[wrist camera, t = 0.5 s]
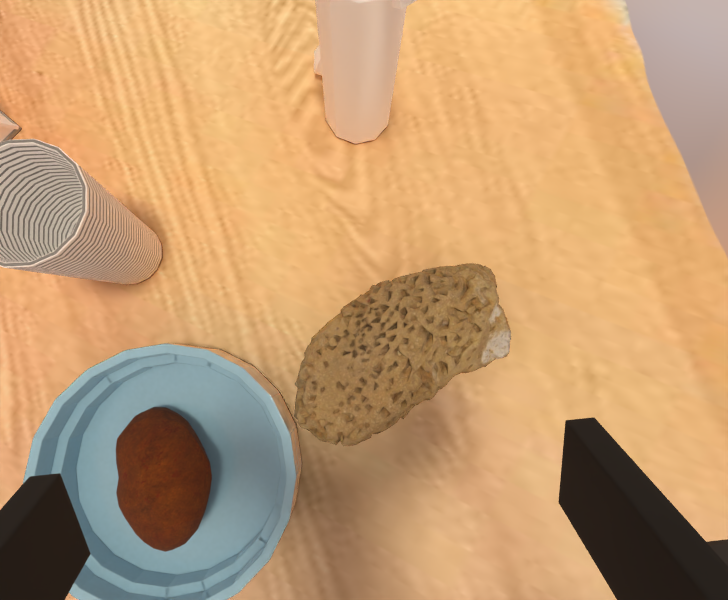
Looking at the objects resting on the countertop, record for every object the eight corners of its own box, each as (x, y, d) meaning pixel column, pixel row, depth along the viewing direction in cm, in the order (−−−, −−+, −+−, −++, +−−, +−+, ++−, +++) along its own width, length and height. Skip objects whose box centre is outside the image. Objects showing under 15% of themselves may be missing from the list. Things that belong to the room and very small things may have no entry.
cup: (193, 238, 45) (113, 179, 30) (144, 314, 44) (35, 293, 29) (119, 195, 46) (1, 114, 30) (69, 269, 45) (-79, 224, 29)
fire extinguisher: (347, 41, 48) (345, -292, 23) (414, 134, 47) (487, -109, 22) (292, 75, 48) (230, -231, 23) (359, 170, 47) (371, -41, 22)
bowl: (341, 515, 43) (340, 536, 38) (122, 636, 41) (90, 675, 36) (238, 306, 45) (224, 300, 40) (24, 413, 43) (-19, 421, 38)
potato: (199, 389, 43) (166, 397, 35) (242, 510, 42) (218, 546, 34) (119, 421, 43) (67, 436, 35) (161, 544, 42) (117, 588, 34)
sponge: (459, 258, 47) (263, 308, 42) (503, 251, 40) (271, 311, 34) (487, 382, 48) (300, 447, 43) (535, 399, 41) (315, 480, 35)
